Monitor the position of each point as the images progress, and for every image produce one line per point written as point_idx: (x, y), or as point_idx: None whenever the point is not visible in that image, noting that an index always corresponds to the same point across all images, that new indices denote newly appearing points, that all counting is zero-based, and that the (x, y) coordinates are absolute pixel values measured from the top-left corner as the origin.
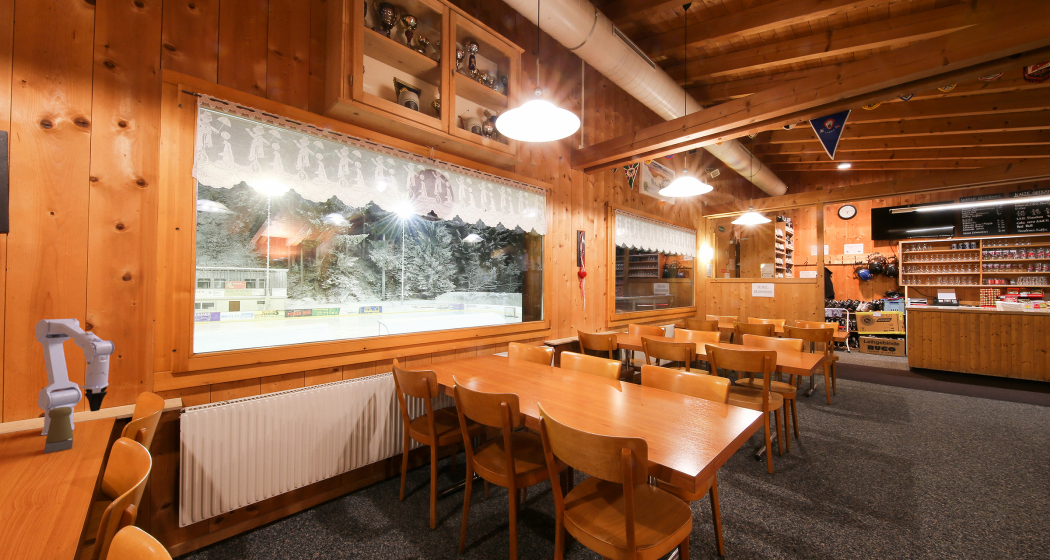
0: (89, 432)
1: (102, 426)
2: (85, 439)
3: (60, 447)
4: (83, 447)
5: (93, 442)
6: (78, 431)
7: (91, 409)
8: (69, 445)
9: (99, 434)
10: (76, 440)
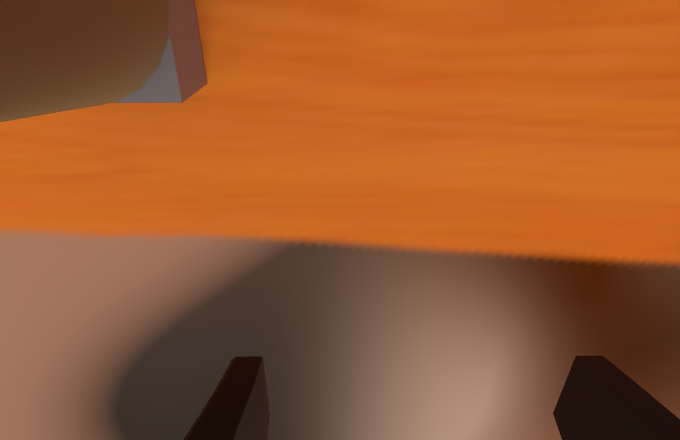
0: (514, 177)
1: (630, 243)
2: (294, 157)
3: None
4: (41, 148)
5: (154, 198)
6: (642, 112)
7: (224, 389)
8: None
9: (378, 227)
10: (314, 105)
